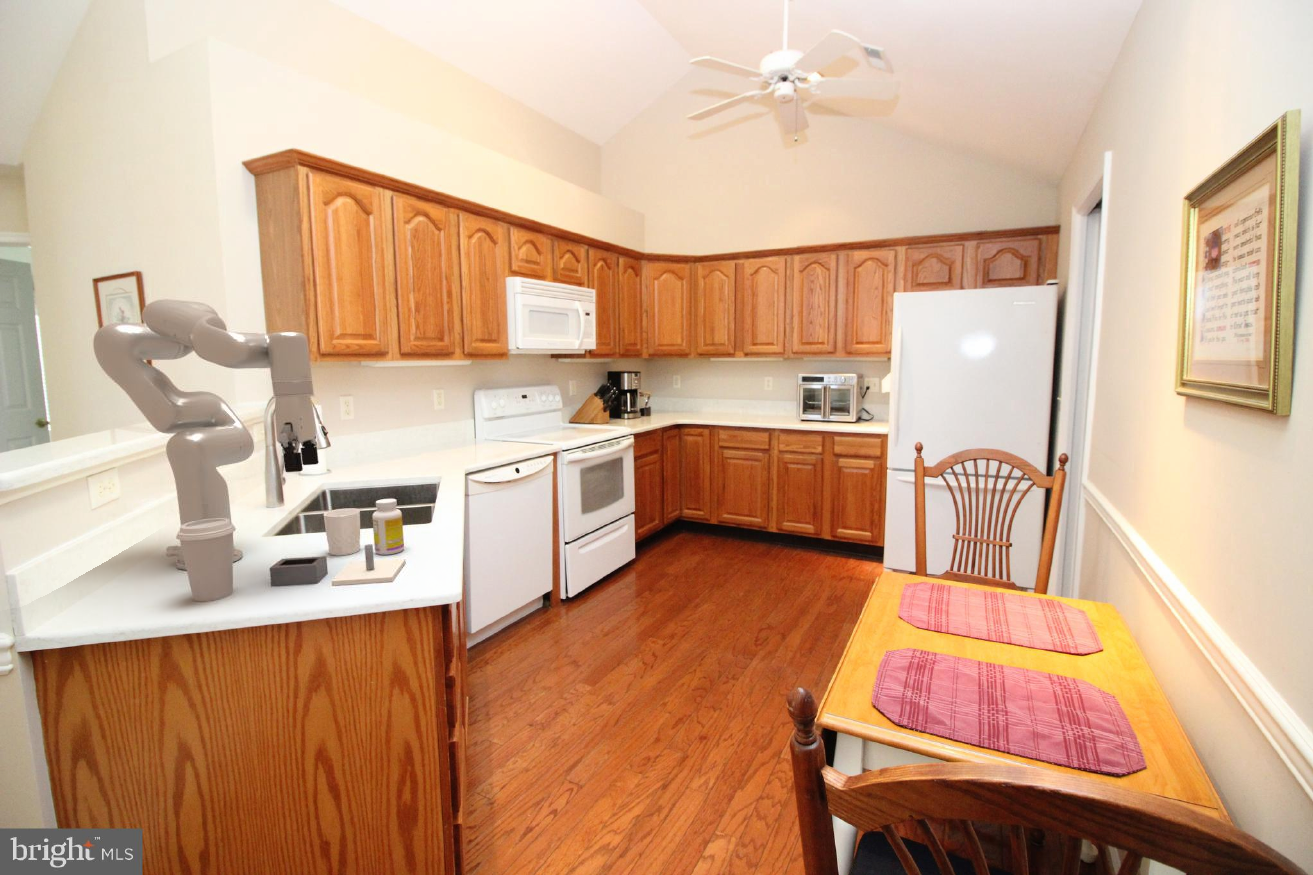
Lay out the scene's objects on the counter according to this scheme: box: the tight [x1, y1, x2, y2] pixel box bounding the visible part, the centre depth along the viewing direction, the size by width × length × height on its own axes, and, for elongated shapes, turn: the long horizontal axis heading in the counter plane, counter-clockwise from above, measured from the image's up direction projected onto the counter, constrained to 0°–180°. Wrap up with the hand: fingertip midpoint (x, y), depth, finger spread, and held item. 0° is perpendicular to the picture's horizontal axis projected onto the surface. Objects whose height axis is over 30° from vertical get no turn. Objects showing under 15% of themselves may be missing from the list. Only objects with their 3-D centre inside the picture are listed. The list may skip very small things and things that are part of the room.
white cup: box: [323, 507, 361, 557], centre depth 149 cm, size 8×8×10 cm
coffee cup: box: [175, 518, 237, 602], centre depth 121 cm, size 10×10×15 cm
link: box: [269, 555, 329, 587], centre depth 130 cm, size 9×6×4 cm, turn 100°
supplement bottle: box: [371, 498, 405, 556], centre depth 148 cm, size 7×7×13 cm
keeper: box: [331, 543, 407, 586], centre depth 133 cm, size 12×12×6 cm
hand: (302, 467), depth 132 cm, fingers open, 9 cm apart
